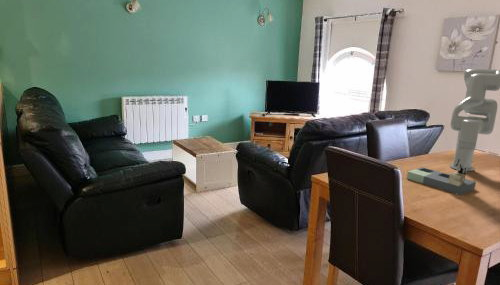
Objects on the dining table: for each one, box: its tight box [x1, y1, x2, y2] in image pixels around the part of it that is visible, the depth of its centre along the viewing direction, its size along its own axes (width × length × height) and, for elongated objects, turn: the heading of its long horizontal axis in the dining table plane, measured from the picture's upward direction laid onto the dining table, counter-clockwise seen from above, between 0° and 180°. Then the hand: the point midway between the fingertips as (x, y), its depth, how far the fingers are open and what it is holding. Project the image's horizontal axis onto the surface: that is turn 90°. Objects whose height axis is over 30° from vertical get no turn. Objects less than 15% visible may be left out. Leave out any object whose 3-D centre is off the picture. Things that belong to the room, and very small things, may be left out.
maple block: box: [448, 171, 466, 186], centre depth 177 cm, size 5×5×5 cm
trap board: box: [406, 166, 477, 196], centre depth 189 cm, size 15×28×4 cm, turn 37°
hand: (460, 180), depth 181 cm, fingers closed
